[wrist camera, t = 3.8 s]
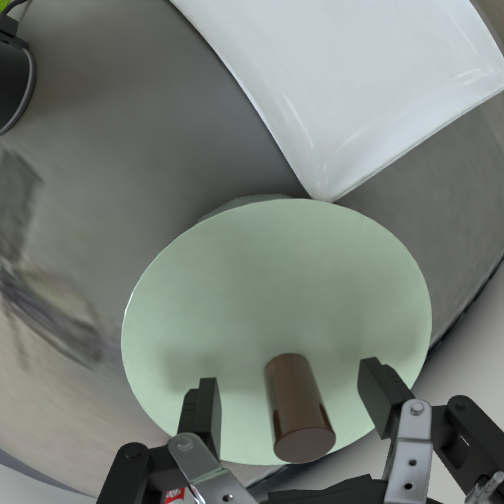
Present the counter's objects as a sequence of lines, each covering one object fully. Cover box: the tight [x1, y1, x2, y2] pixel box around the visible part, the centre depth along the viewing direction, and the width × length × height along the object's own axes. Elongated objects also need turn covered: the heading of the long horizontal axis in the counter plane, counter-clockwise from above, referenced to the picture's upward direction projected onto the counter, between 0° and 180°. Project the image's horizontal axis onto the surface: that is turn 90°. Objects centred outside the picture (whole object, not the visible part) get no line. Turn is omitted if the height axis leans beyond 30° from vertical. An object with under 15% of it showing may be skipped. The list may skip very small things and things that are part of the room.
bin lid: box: [121, 198, 432, 465], centre depth 12 cm, size 17×17×6 cm
